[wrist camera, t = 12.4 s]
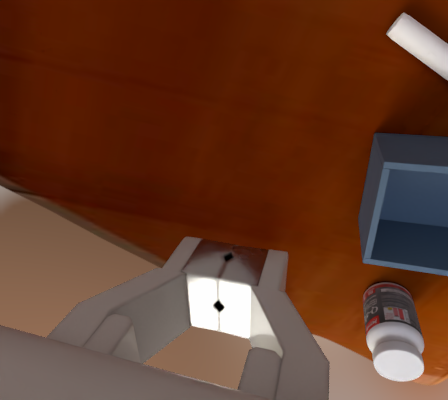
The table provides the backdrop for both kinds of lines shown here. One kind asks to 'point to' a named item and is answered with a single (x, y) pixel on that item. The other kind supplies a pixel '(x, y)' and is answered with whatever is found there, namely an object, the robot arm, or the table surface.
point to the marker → (420, 43)
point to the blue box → (406, 203)
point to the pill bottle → (393, 332)
